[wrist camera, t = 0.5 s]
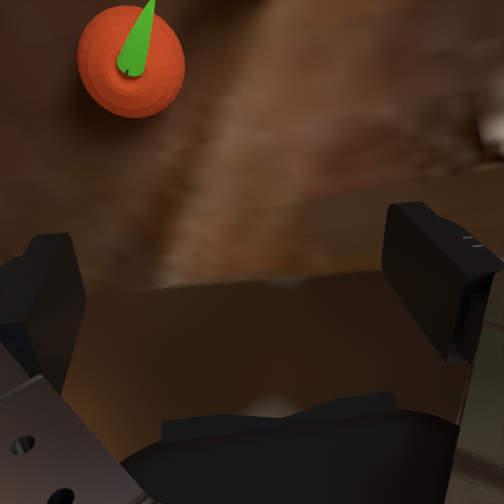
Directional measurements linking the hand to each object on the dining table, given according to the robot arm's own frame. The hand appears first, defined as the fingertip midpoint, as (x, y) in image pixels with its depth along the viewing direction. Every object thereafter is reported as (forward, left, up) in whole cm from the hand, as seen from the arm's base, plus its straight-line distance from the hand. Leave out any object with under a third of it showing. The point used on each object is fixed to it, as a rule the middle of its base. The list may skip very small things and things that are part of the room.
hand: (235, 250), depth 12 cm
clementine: (-2, -4, -27) cm, 28 cm away
